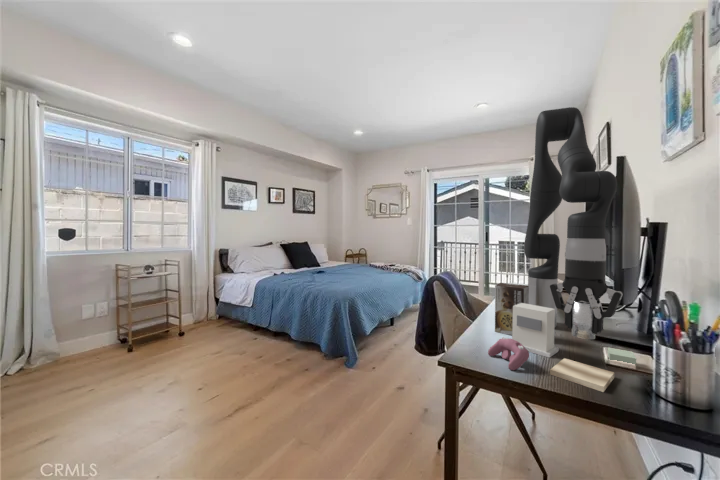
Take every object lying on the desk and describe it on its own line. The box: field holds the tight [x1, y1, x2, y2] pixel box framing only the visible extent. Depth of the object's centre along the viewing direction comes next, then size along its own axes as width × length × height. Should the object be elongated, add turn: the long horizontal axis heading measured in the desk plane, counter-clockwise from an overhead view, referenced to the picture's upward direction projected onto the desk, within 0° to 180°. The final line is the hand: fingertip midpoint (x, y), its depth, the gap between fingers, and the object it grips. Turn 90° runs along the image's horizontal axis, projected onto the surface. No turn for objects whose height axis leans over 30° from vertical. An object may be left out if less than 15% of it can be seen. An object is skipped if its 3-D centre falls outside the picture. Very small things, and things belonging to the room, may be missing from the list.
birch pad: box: [549, 357, 615, 393], centre depth 69 cm, size 10×10×1 cm
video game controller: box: [487, 336, 530, 371], centre depth 77 cm, size 10×5×7 cm, turn 10°
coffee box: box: [494, 282, 529, 336], centre depth 99 cm, size 9×6×16 cm
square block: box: [607, 347, 637, 365], centre depth 76 cm, size 5×5×3 cm
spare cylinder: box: [571, 301, 596, 340], centre depth 69 cm, size 4×4×8 cm
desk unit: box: [511, 303, 560, 359], centre depth 86 cm, size 7×11×12 cm, turn 39°
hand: (583, 330), depth 69 cm, fingers closed on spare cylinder, 4 cm apart
